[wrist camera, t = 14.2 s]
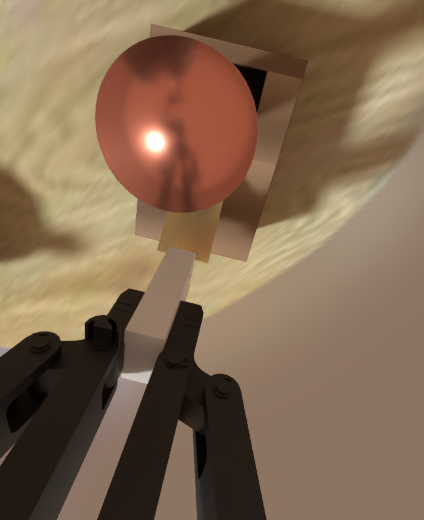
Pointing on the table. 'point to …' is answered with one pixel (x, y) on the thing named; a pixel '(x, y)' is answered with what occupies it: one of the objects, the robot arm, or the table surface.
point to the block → (266, 153)
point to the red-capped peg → (176, 123)
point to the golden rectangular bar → (191, 231)
